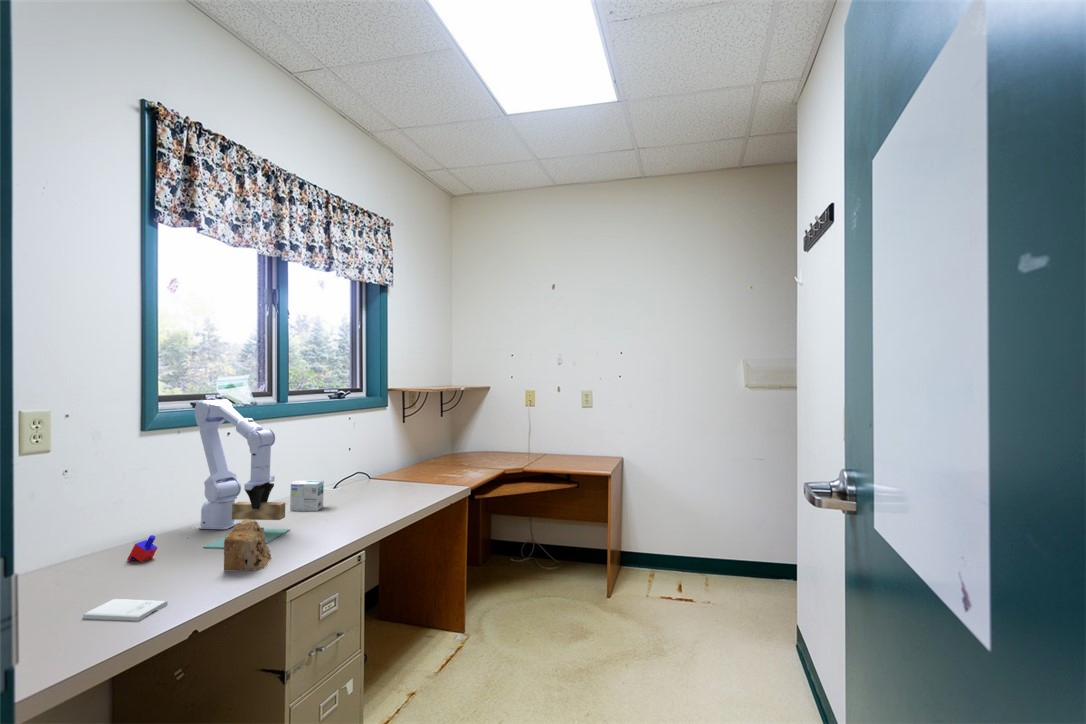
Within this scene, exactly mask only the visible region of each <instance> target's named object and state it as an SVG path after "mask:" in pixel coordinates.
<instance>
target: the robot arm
mask: <svg viewBox="0 0 1086 724" xmlns="http://www.w3.org/2000/svg"><path fill="white" fill-rule="evenodd" d="M194 411H195V414H194V418H195V421H196V424H197V427H198V428H199V427H200V431H199V435H200V439H201V442H202V443H201V444H202V446H203V450H204V453H205V454H204V455H205V458H206V462H207V466H208V469H209V470H208V471H209V474H210V475H209V476H208V477H207V478H206V479H205V480H204V483H203V484H204V496H205V499H206V501H205V502H203V503H202V506H201V509H200V526H198V529H199V530H200V529H201V530H222V531H223V530H228V529H231V528H233V527H235V525H236V524H237V523H241V522H240V521H235V520H232V504H234V503H236V500H237V498H238V496H239V495H240V494H241V492H242V485H241V483H240V481H239V480H238V477H237V474H236V473H234V472H232V471H230V470H229V467H228V465H227V460H226V456H225V453H224V449H223V445H222V442H221V438H220V434H219V433H220V432H219V430H218V429H219V426H220V425H222V424H223V423H224V422H225V421H227V422H229V423H230V424H232V425H234V426H235V431H236V432H237V433H238V434H239V435H241V436H242V437H243V438H244V439H245V440H247V445H248V446H249V454H251V455H250V477H249V478H250V480H248V481H247V482H246V483H244V486H243V487H244V488H243V490H244V491H245V493H246V494H247V496H248V499H249V502H251V506H252V509H259V508H260V504H261V502H269V498H270V495H271V492H272V490H273V488H274V487H275V483H273V482H275V475H271V455H272V454H271V453H272V452H271V451H272V448H271V447H272V446H273V445H274V444H275V441H276V435H275V433H274V431H273V430H272V429H271V428H269V429H268V428H267V429H266V428H263V427H262V426H261V425H259V424H258V423H257V422H255V421H254V419H253V418H251V417H250V418H249V417H243V416H242V415H241V413H239V412H238V411H237V410H236V409H235V408H234V407H233V403H232V402H231V401H229V399H226V398H225V399H224V398H223V399H209V400H204V399H202V400H199V401H197V403H196V405H195V407H194V408H193V412H194ZM207 418H209V420H208V419H207Z"/></svg>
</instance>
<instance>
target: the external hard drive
mask: <svg viewBox="0 0 1086 724" xmlns="http://www.w3.org/2000/svg"><path fill="white" fill-rule="evenodd" d="M165 605H166V606H168V605H169V604H168V600H153V599H152V600H150V599H149V600H147V599H125V598H113V599H111V600H109V601H107V602H104V603H103V604H101V605H99V606H97V607H95V608H92V609H90V610H88V611H87V612H85V613H83V615H82V616H83V617H82V619H83V620H104V621H105V620H106V621H128V620H129V621H131V620H132V621H131V622H133V621H134V622H139V620H140V621H141V620H143V619H145V618H146V616H147V615H148V616H150V615H151V614H153V613H154V612H157V611H159V610H161V609H162V608H164V607H165ZM160 608H161V609H160ZM158 609H159V610H158ZM152 612H153V613H152ZM149 614H150V615H149ZM148 616H147V617H148ZM144 617H145V618H144ZM142 618H143V619H142Z"/></svg>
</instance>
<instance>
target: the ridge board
mask: <svg viewBox="0 0 1086 724" xmlns="http://www.w3.org/2000/svg"><path fill="white" fill-rule="evenodd" d="M260 529H261V530H262V531H263V532H264V535H265V543H266V544H268V543H270V542H272V541H274V540H276V539H277V538H279V537H281V536H283V535H285V534H287V532H290V531H291V529H290V528H267V527H266V528H264V527H260ZM278 536H279V537H278ZM226 537H227V535H225V536H223V537H221V538H219V539H218V540H215V541H213V542H210V543H209V544H207V545H204V546H203V549H218V548H224V541H225V538H226ZM273 539H274V540H273ZM271 540H272V541H271ZM269 541H270V542H269ZM267 542H268V543H267Z"/></svg>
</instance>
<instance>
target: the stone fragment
mask: <svg viewBox="0 0 1086 724" xmlns="http://www.w3.org/2000/svg"><path fill="white" fill-rule="evenodd" d="M232 528H233V529H232V530H231V531H230V532H229V533H228V534H227V535H226V536H227V537H226V538H225V541H224V549H223V571H224V570H238V571H255V570H254V569H258V570H261V569H260V568H263V569H265V568H266V567H267V566H268V564H269V562H270V561H271V560H272V557H271V556H272V555H271V550H270V549H269V546H268V545H267V543H266V544H265V535H264V532H263V531H262V530H261V529H260V528H261V526H260V524H259V522H258V520H251V519H245V520H241V522H240V523H237V524H236V525H235V526H233V527H232ZM270 559H271V560H270ZM269 560H270V561H269ZM268 561H269V562H268ZM267 563H268V564H267ZM266 565H267V566H266ZM265 566H266V567H265ZM264 567H265V568H264Z"/></svg>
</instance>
